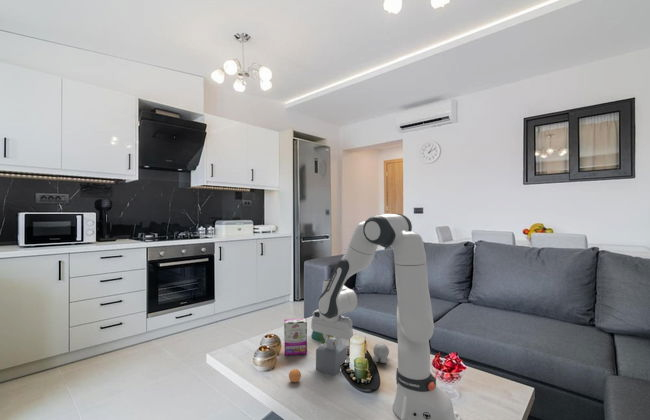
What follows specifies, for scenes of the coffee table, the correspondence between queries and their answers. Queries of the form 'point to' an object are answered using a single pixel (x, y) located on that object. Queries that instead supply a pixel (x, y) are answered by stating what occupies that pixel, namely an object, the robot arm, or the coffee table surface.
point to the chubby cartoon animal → (380, 353)
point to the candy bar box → (295, 337)
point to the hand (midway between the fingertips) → (331, 344)
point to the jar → (343, 341)
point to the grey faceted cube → (330, 357)
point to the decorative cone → (319, 336)
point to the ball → (294, 375)
